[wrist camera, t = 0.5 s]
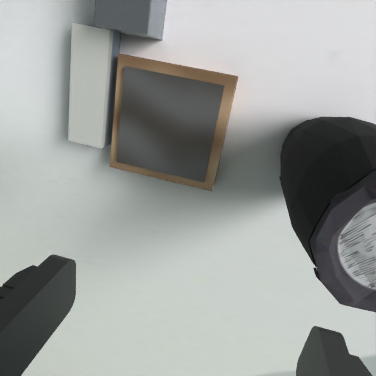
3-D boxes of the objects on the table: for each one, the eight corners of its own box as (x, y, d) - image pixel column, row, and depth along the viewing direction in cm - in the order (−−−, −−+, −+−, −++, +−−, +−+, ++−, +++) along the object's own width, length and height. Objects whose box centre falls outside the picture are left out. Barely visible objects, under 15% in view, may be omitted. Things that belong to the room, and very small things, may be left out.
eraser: (87, 27, 32) (71, 22, 29) (122, 33, 32) (109, 29, 29) (81, 135, 37) (68, 140, 34) (112, 143, 36) (101, 148, 34)
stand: (127, 55, 32) (115, 53, 29) (238, 76, 31) (237, 76, 28) (118, 161, 37) (107, 168, 34) (214, 183, 35) (211, 193, 32)
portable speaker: (271, 191, 34) (292, 319, 16) (282, 106, 31) (324, 149, 13) (352, 198, 33) (475, 349, 15) (373, 110, 29) (564, 165, 11)
